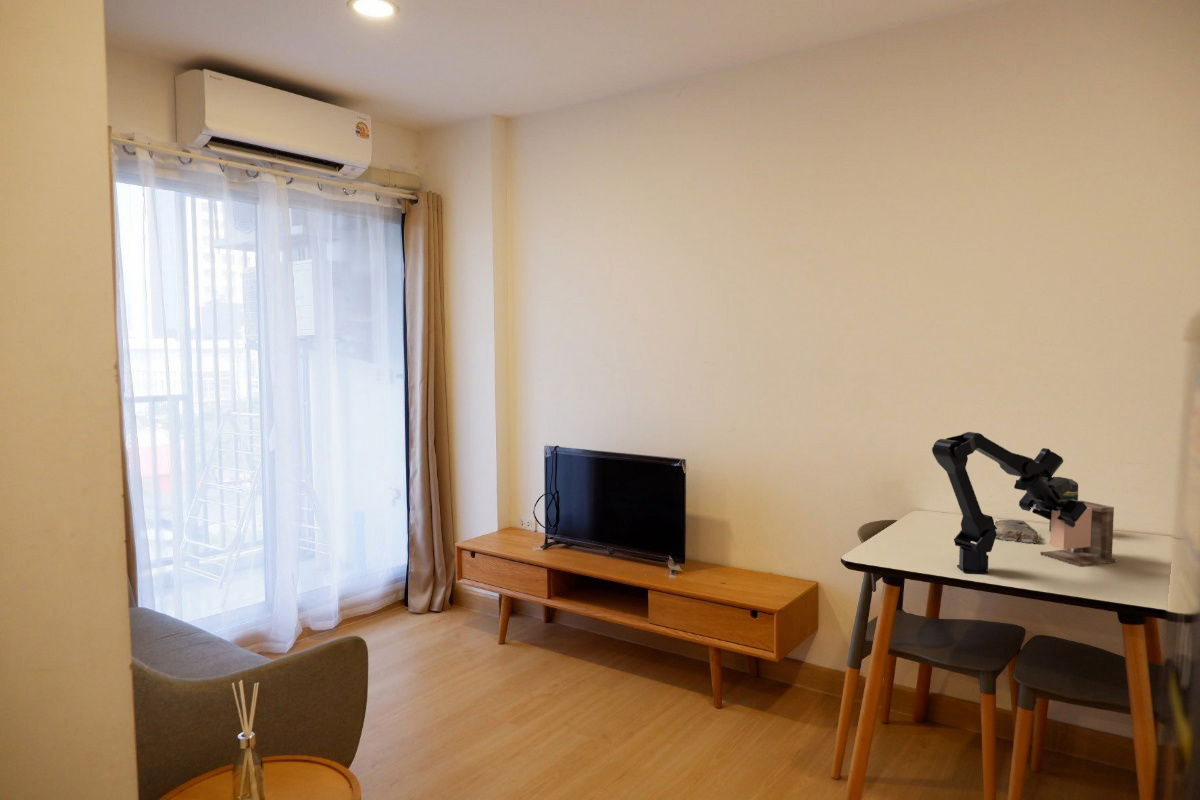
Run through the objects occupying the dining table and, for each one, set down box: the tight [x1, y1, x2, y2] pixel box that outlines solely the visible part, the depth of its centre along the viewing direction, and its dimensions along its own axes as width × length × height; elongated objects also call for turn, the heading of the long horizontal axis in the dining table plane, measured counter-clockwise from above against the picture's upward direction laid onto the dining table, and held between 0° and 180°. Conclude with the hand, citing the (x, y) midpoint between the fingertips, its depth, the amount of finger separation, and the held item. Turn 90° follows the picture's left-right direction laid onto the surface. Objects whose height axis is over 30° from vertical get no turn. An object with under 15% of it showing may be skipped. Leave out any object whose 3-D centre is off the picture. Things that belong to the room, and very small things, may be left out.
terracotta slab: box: [1049, 507, 1092, 550], centre depth 220 cm, size 10×4×12 cm, turn 106°
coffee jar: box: [1048, 478, 1079, 533], centre depth 253 cm, size 10×8×19 cm
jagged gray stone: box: [994, 519, 1039, 544], centre depth 251 cm, size 14×5×20 cm
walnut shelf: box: [1040, 500, 1117, 567], centre depth 222 cm, size 14×13×16 cm
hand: (1066, 524), depth 219 cm, fingers closed on terracotta slab, 4 cm apart
